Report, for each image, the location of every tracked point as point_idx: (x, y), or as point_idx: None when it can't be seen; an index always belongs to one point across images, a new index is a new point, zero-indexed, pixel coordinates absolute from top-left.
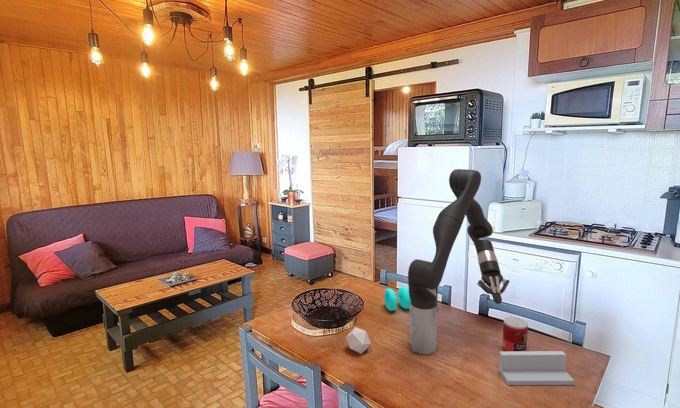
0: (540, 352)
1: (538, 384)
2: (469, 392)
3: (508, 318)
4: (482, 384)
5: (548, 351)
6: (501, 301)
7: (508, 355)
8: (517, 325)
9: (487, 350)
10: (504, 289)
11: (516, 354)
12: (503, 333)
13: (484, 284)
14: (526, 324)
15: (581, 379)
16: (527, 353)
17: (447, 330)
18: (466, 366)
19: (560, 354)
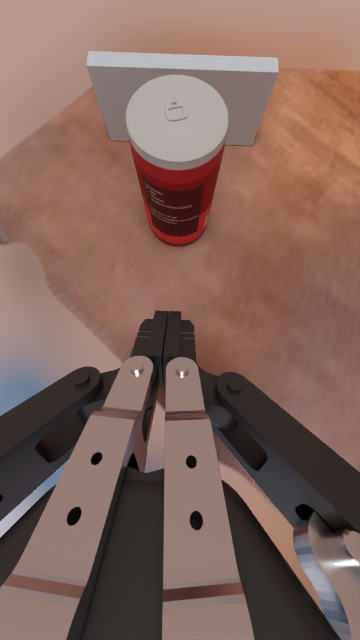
0: (157, 62)
1: None
2: (334, 91)
3: (193, 151)
4: (302, 110)
5: (130, 66)
6: (147, 323)
7: (257, 59)
8: (180, 99)
9: (250, 222)
10: (59, 386)
11: (233, 58)
12: (216, 181)
13: (321, 479)
14: (138, 93)
15: (87, 115)
16: (198, 60)
17: (343, 334)
18: (322, 164)
19: (104, 53)
